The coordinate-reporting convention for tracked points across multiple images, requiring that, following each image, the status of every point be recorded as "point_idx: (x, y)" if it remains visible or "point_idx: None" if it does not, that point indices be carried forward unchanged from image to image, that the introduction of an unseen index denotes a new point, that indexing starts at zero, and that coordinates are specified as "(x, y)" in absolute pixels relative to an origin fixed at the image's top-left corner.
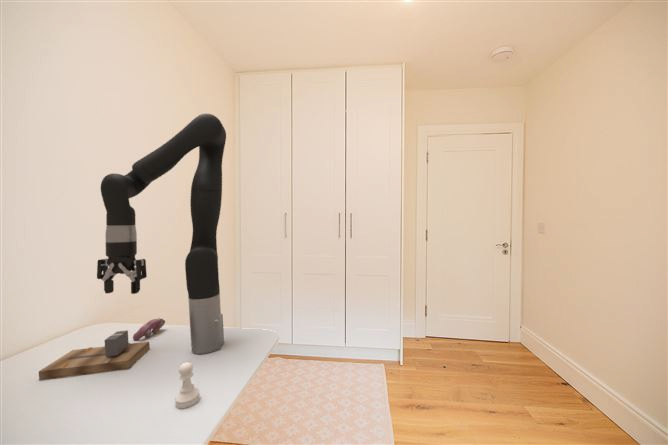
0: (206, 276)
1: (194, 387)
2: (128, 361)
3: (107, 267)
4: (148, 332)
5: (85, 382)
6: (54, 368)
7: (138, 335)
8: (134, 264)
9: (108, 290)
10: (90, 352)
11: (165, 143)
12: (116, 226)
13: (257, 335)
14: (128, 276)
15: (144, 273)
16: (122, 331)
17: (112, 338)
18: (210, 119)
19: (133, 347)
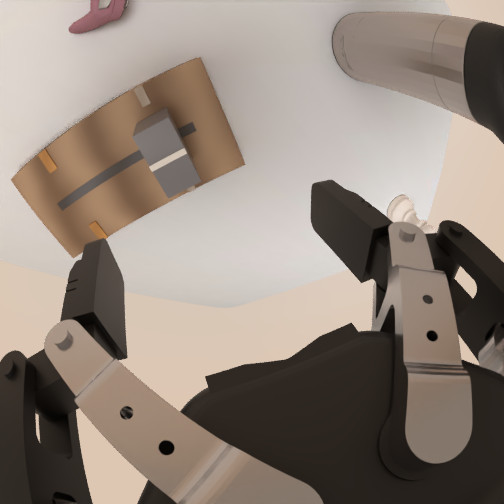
0: None
1: (412, 207)
2: (243, 163)
3: (32, 470)
4: (126, 5)
5: (188, 217)
6: (90, 241)
7: (97, 26)
8: (477, 376)
9: (118, 285)
10: (75, 166)
11: None
12: None
13: (431, 9)
14: (372, 328)
15: (473, 255)
16: (156, 130)
17: (184, 183)
18: None
19: (183, 102)
